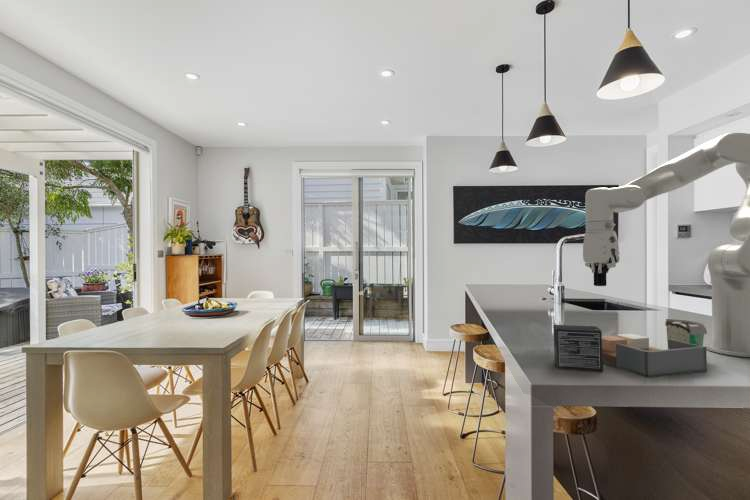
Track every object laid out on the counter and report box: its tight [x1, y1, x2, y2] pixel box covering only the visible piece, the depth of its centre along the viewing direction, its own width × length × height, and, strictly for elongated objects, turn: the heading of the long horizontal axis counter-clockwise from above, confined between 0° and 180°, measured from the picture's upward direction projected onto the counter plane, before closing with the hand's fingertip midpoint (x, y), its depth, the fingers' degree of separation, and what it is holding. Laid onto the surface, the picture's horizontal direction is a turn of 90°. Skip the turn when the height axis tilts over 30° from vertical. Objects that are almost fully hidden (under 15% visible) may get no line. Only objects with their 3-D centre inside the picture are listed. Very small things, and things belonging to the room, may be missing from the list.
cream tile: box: [615, 333, 650, 349], centre depth 107 cm, size 6×6×3 cm
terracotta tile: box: [602, 334, 627, 352], centre depth 105 cm, size 6×6×3 cm
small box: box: [553, 324, 604, 373], centre depth 97 cm, size 11×6×10 cm, turn 71°
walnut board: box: [602, 345, 663, 367], centre depth 106 cm, size 18×13×2 cm
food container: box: [664, 318, 708, 349], centre depth 103 cm, size 12×6×10 cm, turn 168°
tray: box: [615, 339, 708, 379], centre depth 95 cm, size 18×9×6 cm, turn 103°
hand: (600, 285), depth 118 cm, fingers closed
